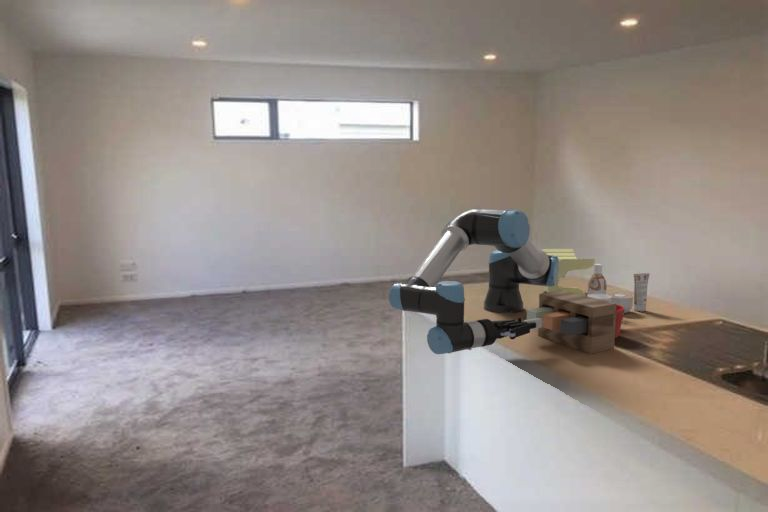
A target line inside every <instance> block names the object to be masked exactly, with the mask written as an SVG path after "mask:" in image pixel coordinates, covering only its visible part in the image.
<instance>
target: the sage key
mask: <svg viewBox="0 0 768 512" xmlns="http://www.w3.org/2000/svg"><path fill="white" fill-rule="evenodd" d="M549 313H554V307H552V306H547V307H541V308H539V307H536V308H530V309H526V320H528V319H534V318H542V324H543V314H549Z"/></svg>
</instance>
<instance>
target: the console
mask: <svg viewBox="0 0 768 512" xmlns="http://www.w3.org/2000/svg"><path fill="white" fill-rule="evenodd" d="M538 297H539V298H538V308H541V307H547V306H552V307H554V313H555V312H560V311H566V310H567V311H570V312H571V314H570V318H571V317H577V316H582V315H585V316H589V318H588V332H587V333H582V334H577V335H572V336H570V335H567V334H564V333H561V332H560V329H556V330H550V329H547V328H544V327H543V324H542V328H537V329H538V332H537V333H538V334H537V336H539V337H542V338H545V339H547V340H550V341H553V342H556V343H558V344H561V345H565V346H567V347H570V348H573V349H576V350H580V351H582V352H584V353H587V354H590V355H591V354H592V355H593V354H596V353H601V352H605V351H609V350H613V349H615V343H616V342H615V341H616V340H615V339H616V338H615V324H616V303H612V302H608V301H604V300H600V299H595V298H591V297H587V295H586V296H583V295H579V294H575V293H570V292H566V291H555V292H548V293H547V292H542V293H539V294H538Z"/></svg>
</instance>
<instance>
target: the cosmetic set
mask: <svg viewBox="0 0 768 512" xmlns="http://www.w3.org/2000/svg"><path fill="white" fill-rule="evenodd" d="M602 271H603V264H602V263H594V266H593V274H592V275H591V276H590V278H589V280H588V283H587V295H589V294H605V295H609V296H611V302H612V303H616V305H621V306H623V307H624V308H625V309H624V314H627V313H629V312H630V311H631V310H632V309H633V310H634V311H635V312H639V311H640V312H642V313H643V312H645V311H646V310H647V296H648V285H649V278H650V274H651V273H650V272H645V273H643V272H642V273H633V280H634V291H633V293H634V294H629V293H624V292H610V293H607V280H606V278H605V276H604V275H603V274H602Z"/></svg>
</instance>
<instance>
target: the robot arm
mask: <svg viewBox="0 0 768 512" xmlns="http://www.w3.org/2000/svg"><path fill="white" fill-rule="evenodd" d="M530 227H531V226H530V223H529V218H528V216H527V214H526V213H525V212H523V210H522V211H521V210H517V209H513V208H511V209H510V208H509V209H495V208H494V209H491V208H473V209H469V210H466V211H463V212H462V213H460V214H457V216H455V217H454V218H452V219H451V220H450V221H449V222H448V223H447V224H446V225H445V226H444V228H443V229H442V231H441V233H440V238H439V239H438V240H437V242H436V243H434V246H433V247H432V248H431V249H430V251H429V252H428V253H427V255H426V256H425V257H424V258H423V260H422V261H420V263H419V264H418V265H417V267H416V268H415V270H414V271H413V272H412V274H411V275H410V276H409V278H408V279H407V280H406V281H405V283H402V282H400V283H399V282H398V283H397V282H396V283H394V284H393V285H392V286H391V287H390V289H389V292H388V301H389V305H390V306H391V308H393V309H395V310H400V311H403V312H413V313H419V314H427V315H434V316H435V317H436V319H435V321H436V325H435V326H434V327H430V329H428V333H427V335H426V342H427V345H428V348H429V349H430V350H431V352H432V353H434V354H435V355H444V354H445V355H446V354H452V353H456V352H461V351H465V350H468V351H472V349H476V348H482V347H487V346H491V345H493V344H494V343H495V342H496V341H497V339H503V338H505V337H509V340H515V339H516V338H518V337H519V338H520V337H521V336H524V335H527V334H530V333H531V330H535V329H538V328H542V318H534V319H528V320H527V319H524V320H523V319H522V317H517V319H514V318H513V319H500V320H491V319H489V318H482V319H476V320H471V321H470V320H469V321H465V300H466V298H465V289H464V288H465V287H464V285H463V283H462V282H459V281H453V280H443V281H442V280H441V279H442V277H443V276H444V275H445V273H446V272H447V270H448V269H449V268H450V266H451V265H452V263H453V262H454V261H455V259H456V258H457V257H458V255H459V253H460V252H463V251H465V250H466V249H467V248H468V247H469V246H472V245H473V246H474V245H477V246H479V245H480V246H492V247H494V248H495V249H497V250H494V251H492V252H490V253H489V259H488V290H487V293H486V295H485V299H484V301H483V308H484V309H485V310H487V311H491V312H496V313H516V312H521V311H522V310H524V302H523V297H522V293H521V292H520V284H521V285H532V286H540V287H542V286H545V287H547V286H554V285H555V283H556V280H557V276H558V270H559V259H558V257H557V256H553V255H547V254H546V253H545V252H544V251H542V249H540V248H537V247H536V246H535V244H534V243H533V242H532V240H530V232H531V230H530ZM440 280H441V281H440Z"/></svg>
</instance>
